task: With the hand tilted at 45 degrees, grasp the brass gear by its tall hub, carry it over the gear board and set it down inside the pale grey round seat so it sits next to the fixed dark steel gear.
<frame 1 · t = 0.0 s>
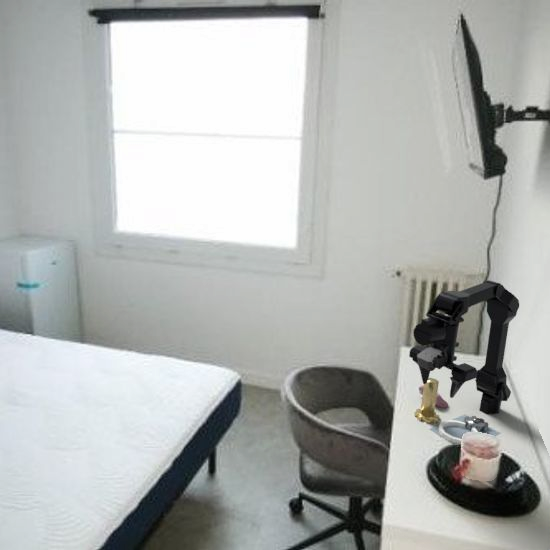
hand: (437, 390, 142), 15 cm above the table, tool pointing down, fingers open, 9 cm apart
gear board: (464, 434, 148), on the table
brass gear: (426, 419, 155), on the table
fixed gear: (475, 426, 150), resting on gear board
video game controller: (431, 404, 165), on the table
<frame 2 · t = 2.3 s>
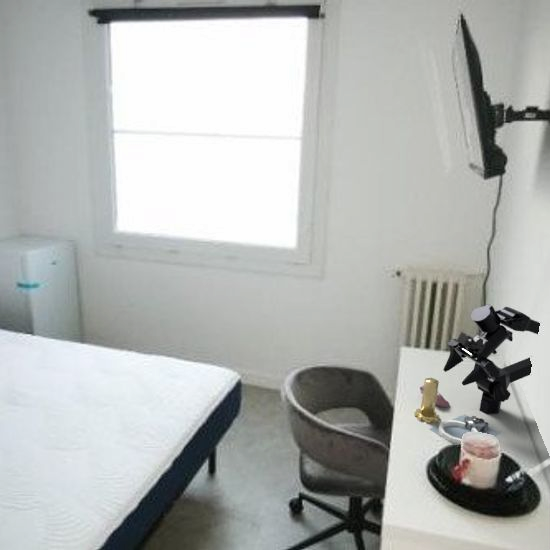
hand: (453, 377, 153), 13 cm above the table, tool tilted 45°, fingers open, 9 cm apart
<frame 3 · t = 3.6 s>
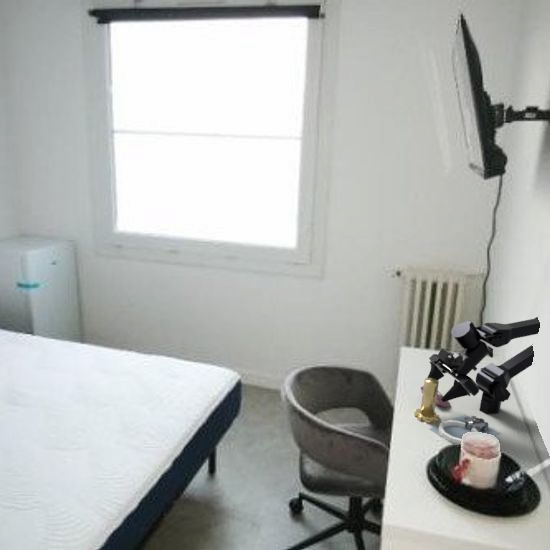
hand: (433, 393, 153), 9 cm above the table, tool tilted 45°, fingers open, 9 cm apart
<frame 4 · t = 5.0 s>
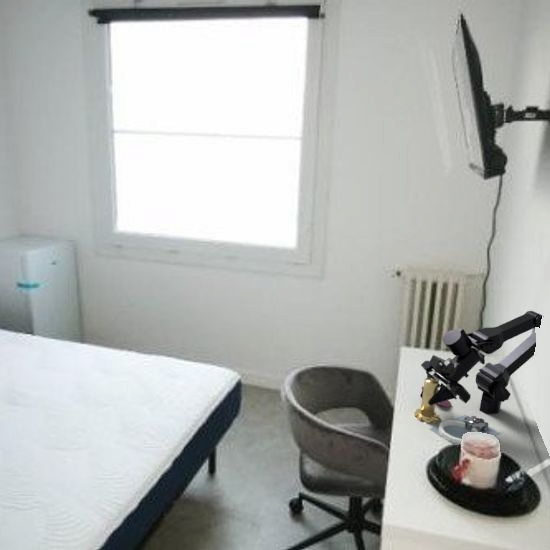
hand: (424, 400, 153), 7 cm above the table, tool tilted 45°, fingers closed on brass gear, 4 cm apart
brass gear: (426, 419, 155), on the table, touching gripper
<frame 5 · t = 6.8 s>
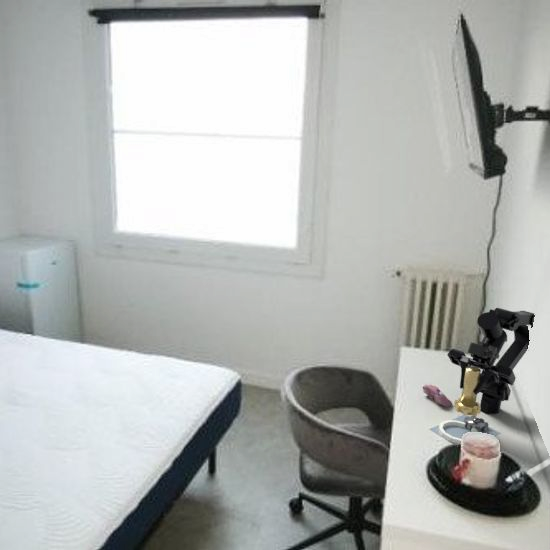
hand: (467, 390, 146), 13 cm above the table, tool tilted 45°, fingers closed on brass gear, 4 cm apart
brass gear: (466, 409, 148), point 7 cm above the table, touching gripper
when the fingers open (9 cm above the table, at t = 8.4 s): brass gear drops 1 cm, resting on gear board.
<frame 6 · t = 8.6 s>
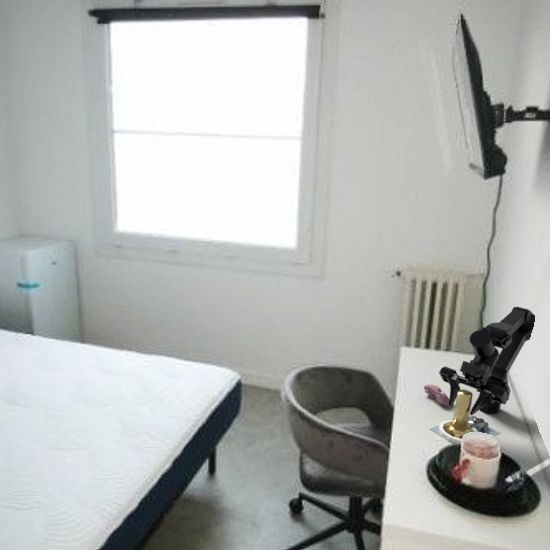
hand: (460, 410, 143), 9 cm above the table, tool tilted 45°, fingers open, 6 cm apart
brass gear: (458, 433, 146), point 1 cm above the table, touching gear board
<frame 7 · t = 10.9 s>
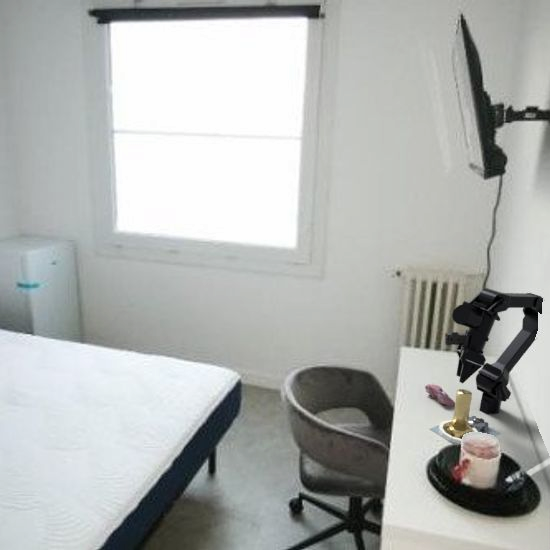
hand: (459, 379, 151), 14 cm above the table, tool tilted 20°, fingers open, 9 cm apart
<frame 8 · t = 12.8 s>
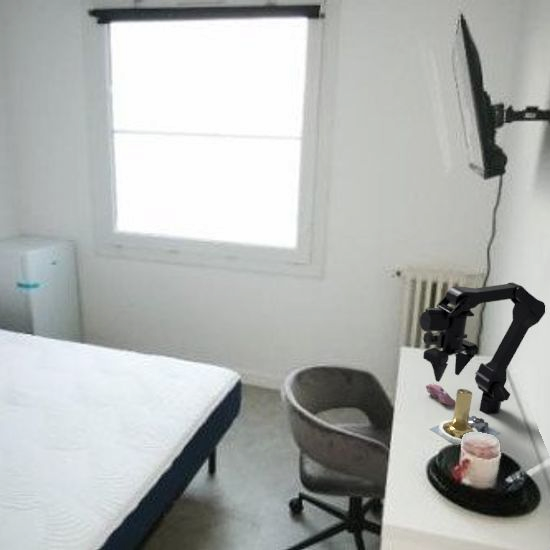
hand: (447, 377, 154), 13 cm above the table, tool pointing down, fingers open, 9 cm apart
at the end: brass gear 0.1 cm from the target spot, point 1.1 cm above the table; brass gear tilted 1°; the gripper is holding nothing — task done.
